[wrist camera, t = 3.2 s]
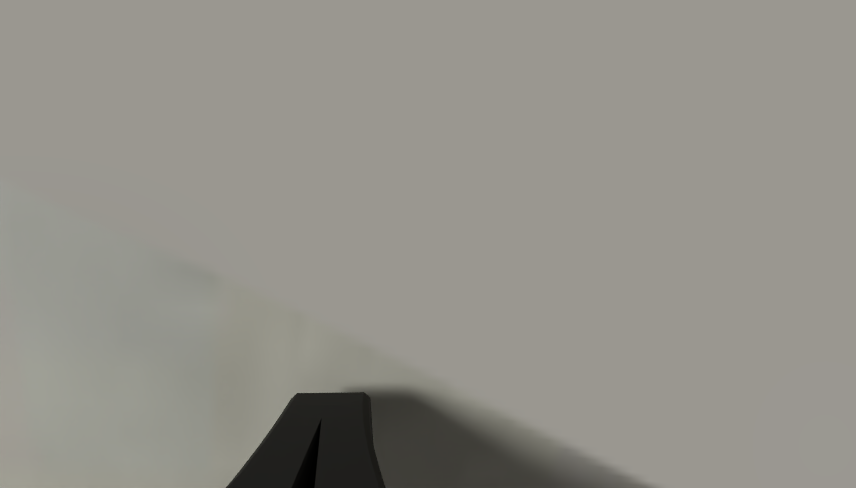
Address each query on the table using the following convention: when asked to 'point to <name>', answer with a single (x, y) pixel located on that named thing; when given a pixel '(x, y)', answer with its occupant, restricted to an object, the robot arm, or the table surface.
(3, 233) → the table surface
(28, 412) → the table surface
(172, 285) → the table surface
